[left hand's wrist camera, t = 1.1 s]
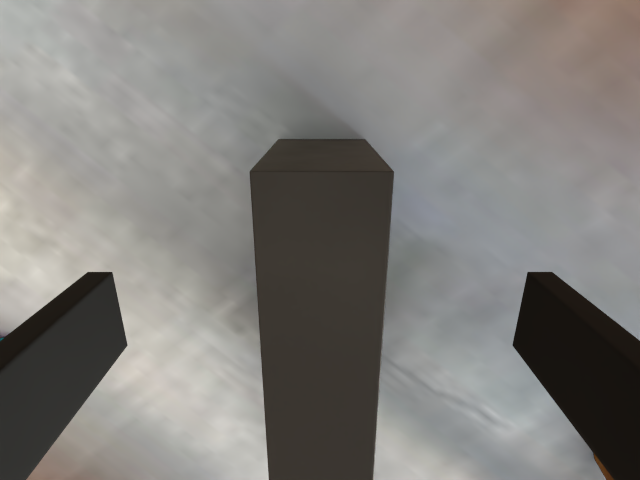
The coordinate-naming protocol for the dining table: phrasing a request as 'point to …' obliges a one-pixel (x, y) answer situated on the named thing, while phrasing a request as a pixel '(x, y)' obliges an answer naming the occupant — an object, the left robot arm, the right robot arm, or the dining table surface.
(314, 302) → the box
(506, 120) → the dining table surface
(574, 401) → the left robot arm
